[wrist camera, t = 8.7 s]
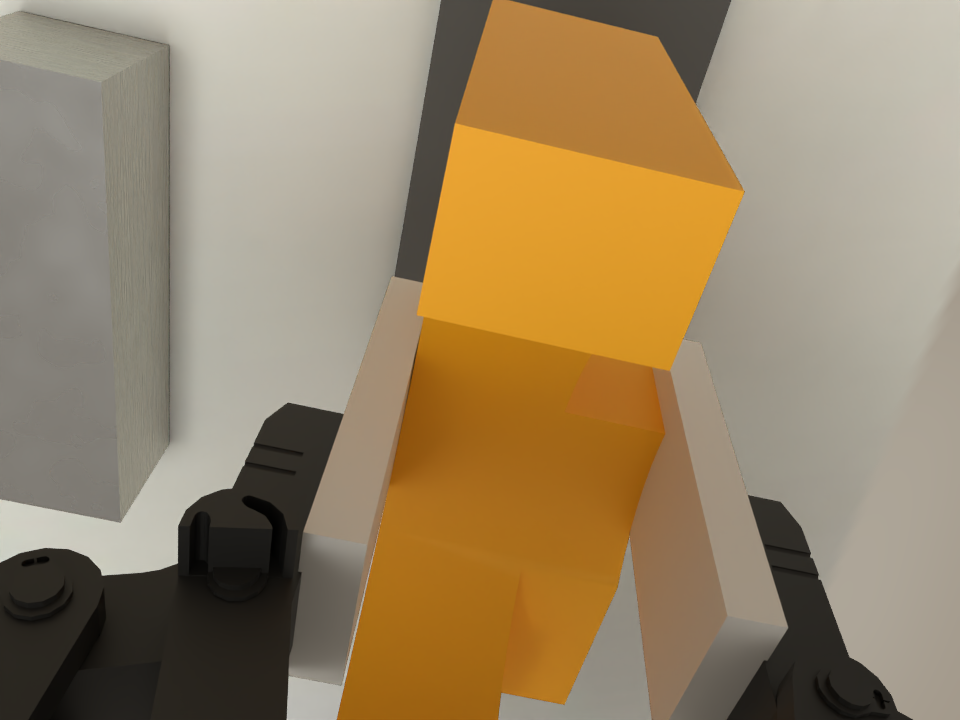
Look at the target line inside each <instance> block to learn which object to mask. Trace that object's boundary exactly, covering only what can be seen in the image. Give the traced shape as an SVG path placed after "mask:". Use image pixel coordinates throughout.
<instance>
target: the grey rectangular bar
mask: <svg viewBox="0 0 960 720" xmlns="http://www.w3.org/2000/svg"><path fill="white" fill-rule="evenodd" d="M168 445H169V45H165V44H161V43H157V42H152V41H148V40H143V39H139V38H135V37H130V36H126V35H122V34H117V33H113V32H108V31H104V30H100V29H95V28H91V27H86V26H82V25H78V24H73V23H69V22H64V21H60V20H56V19H51V18H47V17H42V16H38V15H34V14H29V13H25V12H20V11H17V12H14V13H11V14H8V15H5V16H2V17H0V499H2V500H7V501H12V502H18V503H23V504H28V505H33V506H38V507H43V508H48V509H54V510H59V511H64V512H69V513H74V514H79V515H84V516H90V517H95V518H100V519H105V520H110V521H115V522H120V523H121V521H122V520H123V518H124V516H125V515H126V513H127V512H128V510H129V508H130V507H131V505H132V504H133V502H134V500H135V499H136V497H137V495H138V494H139V492H140V491H141V489H142V487H143V486H144V484H145V483H146V481H147V479H148V478H149V476H150V474H151V473H152V471H153V470H154V468H155V466H156V465H157V463H158V462H159V460H160V458H161V457H162V455H163V454H164V452H165V450H166V449H167V447H168Z"/></svg>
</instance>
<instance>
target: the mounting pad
mask: <svg viewBox="0 0 960 720" xmlns="http://www.w3.org/2000/svg"><path fill="white" fill-rule="evenodd" d="M492 1H493V0H441V4H440V10H439V16H438V22H437V28H436V34H435V40H434V46H433V52H432V58H431V64H430V70H429V76H428V82H427V87H426V93H425V99H424V105H423V111H422V117H421V123H420V129H419V135H418V141H417V147H416V153H415V159H414V165H413V171H412V177H411V182H410V188H409V194H408V200H407V206H406V212H405V218H404V224H403V230H402V236H401V242H400V248H399V254H398V260H397V266H396V272H395V277H398V278H403V279H408V280H412V281H417V282H422V283H423V280H424V275H425V270H426V265H427V260H428V255H429V250H430V245H431V240H432V235H433V230H434V225H435V220H436V215H437V210H438V205H439V200H440V195H441V190H442V185H443V180H444V175H445V171H446V166H447V161H448V156H449V151H450V146H451V141H452V136H453V131H454V126H455V122H456V118H457V115H458V112H459V109H460V105H461V102H462V99H463V96H464V92H465V89H466V86H467V82H468V79H469V76H470V73H471V69H472V66H473V63H474V60H475V56H476V53H477V50H478V47H479V43H480V40H481V37H482V34H483V30H484V27H485V24H486V20H487V17H488V14H489V11H490V7H491V4H492ZM510 1H514V2H518V3H522V4H526V5H530V6H534V7H538V8H542V9H547V10H551V11H555V12H559V13H563V14H567V15H571V16H575V17H579V18H583V19H587V20H591V21H595V22H599V23H603V24H607V25H612V26H616V27H620V28H624V29H628V30H632V31H636V32H640V33H644V34H648V35H652V36H656V37H658V38H659V40H660V42H661V43H662V45H663V47H664V49H665V50H666V52H667V54H668V56H669V58H670V59H671V61H672V63H673V65H674V67H675V68H676V70H677V72H678V74H679V75H680V77H681V79H682V81H683V83H684V84H685V86H686V88H687V90H688V91H689V93H690V95H691V97H692V99H693V100H694V102H695V103H696V100H697V97H698V94H699V91H700V89H701V86H702V83H703V80H704V77H705V74H706V71H707V68H708V66H709V63H710V60H711V57H712V54H713V51H714V48H715V45H716V43H717V40H718V37H719V34H720V31H721V28H722V25H723V22H724V20H725V17H726V14H727V11H728V8H729V5H730V2H731V0H510Z"/></svg>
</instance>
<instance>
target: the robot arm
mask: <svg viewBox="0 0 960 720" xmlns="http://www.w3.org/2000/svg"><path fill="white" fill-rule="evenodd" d="M422 285H423V283H422V282H417V281H412V280H408V279H403V278H398V277H394V276H392V277H391V280H390V283H389V286H388V288H387V291H386V294H385V297H384V300H383V303H382V306H381V309H380V312H379V314H378V317H377V320H376V323H375V326H374V329H373V332H372V335H371V338H370V340H369V343H368V346H367V349H366V352H365V355H364V358H363V361H362V363H361V366H360V369H359V372H358V375H357V378H356V381H355V384H354V387H353V389H352V392H351V395H350V398H349V401H348V404H347V407H346V410H345V413H344V414H341V413H336V412H331V411H326V410H321V409H316V408H311V407H306V406H302V405H297V404H292V403H287V404H285V405H284V406H283V407H282V408H280V409H279V410H278V411H276V412H275V413H274V414H272V415H271V416H270V417H268V418H267V419H266V420H265V421H264V423H263V426H262V428H261V430H260V432H259V434H258V436H257V438H256V440H255V442H254V446H253V447H252V449H251V451H250V453H249V455H248V457H247V459H246V461H245V465H244V466H243V467H242V469H241V472H240V474H239V476H238V478H237V480H236V482H235V484H234V486H233V488H232V489H223V490H220V491H217V492H214V493H212V494H209V495H206V496H204V497H201V498H200V499H199V500H198V501H197V502H195V503H194V504H193V505H192V506H190V507H189V508H188V509H187V510H186V511H185V513H184V515H183V517H182V519H181V521H180V524H179V526H178V564H176V565H173V566H170V567H167V568H164V569H161V570H157V571H150V572H144V573H133V574H120V575H106V576H102V575H101V570H100V569H99V568H98V567H97V566H96V565H95V564H94V563H93V562H92V561H91V560H90V558H89V557H87V556H84V555H82V554H79V553H77V552H74V551H72V550H69V549H53V548H43V549H38V550H33V551H29V552H24V553H20V554H17V555H15V556H13V557H11V558H9V559H7V560H5V561H3V562H1V563H0V720H286V718H287V696H288V676H292V677H297V678H303V679H308V680H313V681H319V682H324V683H329V684H335V685H340V686H341V685H342V681H343V677H344V673H345V668H346V664H347V660H348V656H349V652H350V647H351V643H352V639H353V635H354V631H355V626H356V622H357V618H358V614H359V610H360V606H361V601H362V597H363V593H364V589H365V585H366V580H367V576H368V572H369V568H370V564H371V559H372V555H373V551H374V547H375V543H376V539H377V534H378V530H379V526H380V522H381V518H382V513H383V509H384V505H385V501H386V497H387V492H388V488H389V484H390V479H391V474H392V469H393V465H394V460H395V455H396V451H397V446H398V441H399V436H400V432H401V427H402V422H403V417H404V413H405V408H406V403H407V398H408V393H409V388H410V384H411V379H412V374H413V369H414V364H415V359H416V354H417V349H418V344H419V339H420V334H421V328H422V323H423V318H424V317H422V316H418V315H417V310H418V305H419V300H420V295H421V290H422ZM652 369H653V374H654V379H655V384H656V389H657V394H658V399H659V404H660V409H661V414H662V419H663V424H664V429H665V436H664V438H663V440H662V442H661V444H660V447H659V449H658V451H657V454H656V456H655V458H654V461H653V463H652V466H651V468H650V471H649V474H648V477H647V479H646V482H645V485H644V488H643V491H642V494H641V497H640V500H639V503H638V506H637V509H636V513H635V516H634V520H633V523H632V527H631V530H630V542H631V550H632V559H633V567H634V575H635V584H636V592H637V600H638V608H639V617H640V625H641V633H642V642H643V650H644V658H645V667H646V675H647V683H648V692H649V700H650V708H651V717H652V720H913V719H911V718H909V717H907V716H905V715H904V714H902V713H900V712H898V711H897V709H896V706H895V704H894V701H893V698H892V696H891V694H890V693H889V692H888V690H887V689H886V688H885V686H883V684H882V683H881V681H880V680H879V679H878V677H876V676H875V675H874V674H873V673H872V672H870V671H869V670H868V669H867V668H866V667H864V666H863V665H862V664H861V663H859V662H857V661H855V660H854V659H852V658H850V657H849V655H848V652H847V650H846V647H845V644H844V642H843V639H842V636H841V633H840V631H839V628H838V625H837V623H836V620H835V617H834V615H833V612H832V609H831V607H830V604H829V601H828V598H827V596H826V593H825V590H824V587H823V585H822V582H821V580H818V575H819V574H818V571H817V568H816V566H815V563H814V560H813V558H810V554H811V552H810V550H809V547H808V544H807V541H806V539H805V536H804V533H803V531H802V528H801V526H800V525H799V524H798V523H797V522H796V520H795V519H794V518H793V517H792V515H791V514H790V513H789V512H788V511H787V509H786V508H785V507H784V506H783V504H782V503H781V502H778V501H773V500H768V499H763V498H759V497H754V496H749V495H747V492H746V488H745V485H744V482H743V479H742V475H741V472H740V469H739V466H738V462H737V459H736V456H735V452H734V449H733V446H732V443H731V439H730V436H729V433H728V430H727V426H726V423H725V420H724V417H723V413H722V410H721V407H720V404H719V400H718V397H717V394H716V390H715V387H714V384H713V381H712V377H711V374H710V371H709V368H708V364H707V361H706V358H705V355H704V351H703V348H702V345H701V343H699V342H695V341H690V340H685V339H683V341H682V343H681V345H680V348H679V350H678V353H677V355H676V357H675V360H674V362H673V365H672V367H671V369H670V371H667V370H662V369H658V368H653V367H652Z"/></svg>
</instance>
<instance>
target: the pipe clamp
mask: <svg viewBox="0 0 960 720" xmlns="http://www.w3.org/2000/svg"><path fill="white" fill-rule="evenodd" d="M744 192H745V191H744V190H743V188H742V186H741V184H740V182H739V181H738V179H737V177H736V175H735V173H734V172H733V170H732V168H731V166H730V165H729V163H728V161H727V159H726V157H725V156H724V154H723V152H722V150H721V149H720V147H719V145H718V143H717V141H716V140H715V138H714V136H713V134H712V132H711V131H710V129H709V127H708V125H707V124H706V122H705V120H704V118H703V116H702V115H701V113H700V111H699V109H698V108H697V106H696V104H695V102H694V100H693V99H692V97H691V95H690V93H689V91H688V90H687V88H686V86H685V84H684V83H683V81H682V79H681V77H680V75H679V74H678V72H677V70H676V68H675V67H674V65H673V63H672V61H671V59H670V58H669V56H668V54H667V52H666V50H665V49H664V47H663V45H662V43H661V42H660V40H659V38H658V37H656V36H652V35H648V34H644V33H640V32H636V31H632V30H628V29H624V28H620V27H616V26H612V25H607V24H603V23H599V22H595V21H591V20H587V19H583V18H579V17H575V16H571V15H567V14H563V13H559V12H555V11H551V10H547V9H542V8H538V7H534V6H530V5H526V4H522V3H518V2H514V1H510V0H493V1H492V4H491V7H490V11H489V14H488V17H487V20H486V24H485V27H484V30H483V34H482V37H481V40H480V43H479V47H478V50H477V53H476V56H475V60H474V63H473V66H472V69H471V73H470V76H469V79H468V82H467V86H466V89H465V92H464V96H463V99H462V102H461V105H460V109H459V112H458V115H457V118H456V122H455V126H454V131H453V136H452V141H451V146H450V151H449V156H448V161H447V166H446V171H445V175H444V180H443V185H442V190H441V195H440V200H439V205H438V210H437V215H436V220H435V225H434V230H433V235H432V240H431V245H430V250H429V255H428V260H427V265H426V270H425V275H424V280H423V285H422V290H421V295H420V300H419V305H418V310H417V315H418V316H422V317H424V318H423V323H422V328H421V334H420V339H419V344H418V349H417V354H416V359H415V364H414V369H413V374H412V379H411V384H410V388H409V393H408V398H407V403H406V408H405V413H404V417H403V422H402V427H401V432H400V436H399V441H398V446H397V451H396V455H395V460H394V465H393V469H392V474H391V479H390V484H389V488H388V493H387V497H386V502H385V506H384V511H383V516H382V520H381V525H380V529H379V534H378V538H377V543H376V548H375V552H374V557H373V561H372V566H371V570H370V575H369V579H368V584H367V588H366V593H365V597H364V602H363V606H362V611H361V615H360V620H359V624H358V629H357V633H356V637H355V642H354V646H353V651H352V655H351V660H350V664H349V668H348V673H347V677H346V682H345V686H344V690H343V695H342V699H341V703H340V708H339V712H338V716H337V720H498V715H499V707H500V698H501V693H506V694H511V695H517V696H522V697H527V698H532V699H537V700H543V701H548V702H553V703H558V704H563V705H564V704H565V702H566V700H567V697H568V695H569V693H570V691H571V689H572V686H573V684H574V682H575V680H576V678H577V675H578V673H579V671H580V669H581V667H582V665H583V662H584V660H585V658H586V656H587V654H588V651H589V649H590V647H591V645H592V643H593V640H594V638H595V636H596V634H597V632H598V629H599V627H600V625H601V623H602V621H603V618H604V616H605V614H606V612H607V610H608V607H609V605H610V603H611V601H612V599H613V597H614V594H615V592H616V590H617V587H618V583H619V578H620V573H621V569H622V564H623V560H624V555H625V551H626V547H627V543H628V540H629V536H630V530H631V527H632V523H633V520H634V516H635V513H636V509H637V506H638V503H639V500H640V497H641V494H642V491H643V488H644V485H645V482H646V479H647V477H648V474H649V471H650V468H651V466H652V463H653V461H654V458H655V456H656V454H657V451H658V449H659V447H660V444H661V442H662V440H663V438H664V436H665V429H664V424H663V419H662V414H661V409H660V404H659V399H658V394H657V389H656V384H655V379H654V374H653V369H652V367H653V368H658V369H662V370H667V371H670V369H671V367H672V365H673V362H674V360H675V357H676V355H677V353H678V350H679V348H680V345H681V343H682V341H683V338H684V336H685V333H686V331H687V329H688V326H689V324H690V321H691V319H692V317H693V314H694V312H695V309H696V307H697V305H698V302H699V300H700V298H701V295H702V293H703V290H704V288H705V286H706V283H707V281H708V278H709V276H710V274H711V271H712V269H713V266H714V264H715V262H716V259H717V257H718V254H719V252H720V250H721V247H722V245H723V242H724V240H725V238H726V235H727V233H728V230H729V228H730V226H731V223H732V221H733V219H734V216H735V214H736V211H737V209H738V207H739V204H740V202H741V199H742V197H743V195H744Z"/></svg>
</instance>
